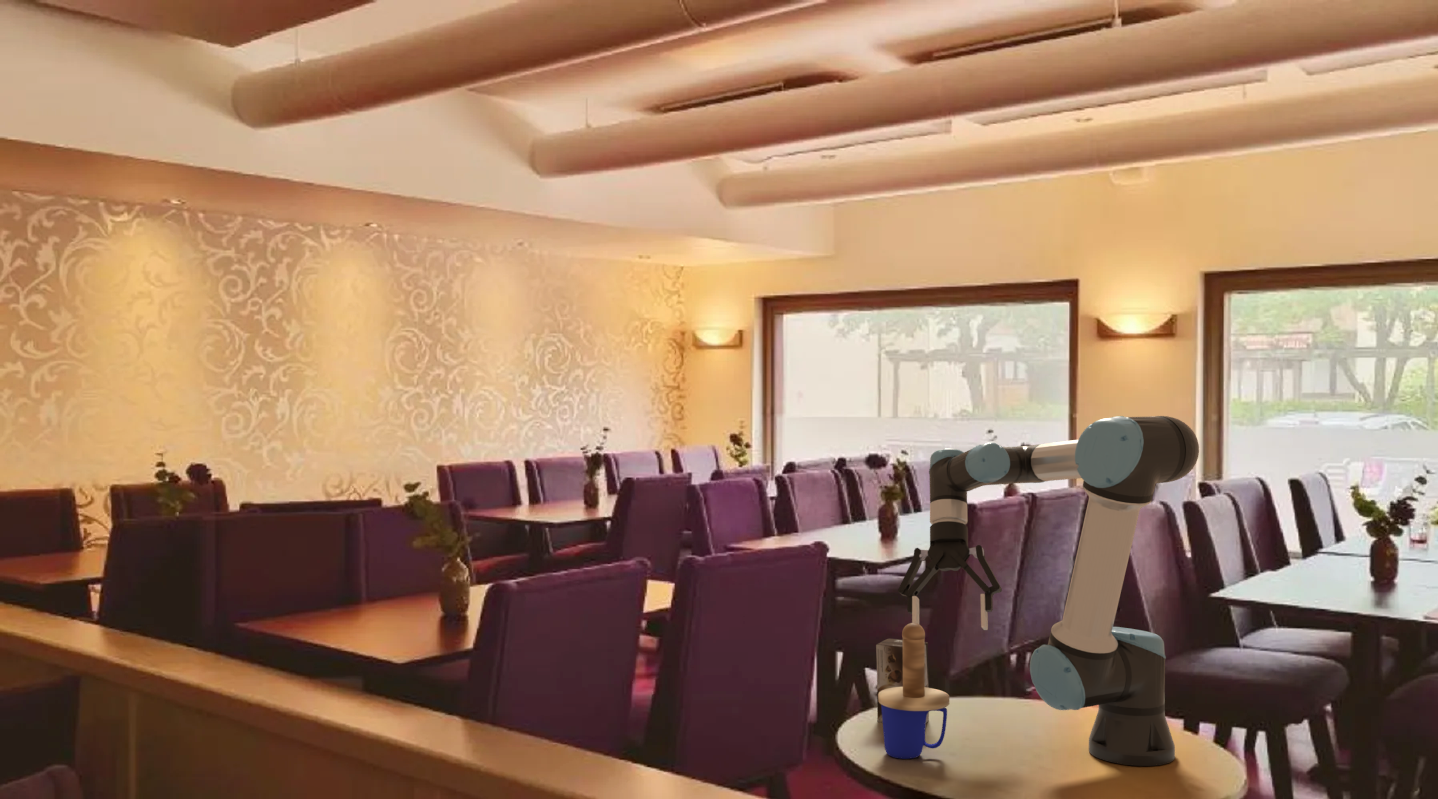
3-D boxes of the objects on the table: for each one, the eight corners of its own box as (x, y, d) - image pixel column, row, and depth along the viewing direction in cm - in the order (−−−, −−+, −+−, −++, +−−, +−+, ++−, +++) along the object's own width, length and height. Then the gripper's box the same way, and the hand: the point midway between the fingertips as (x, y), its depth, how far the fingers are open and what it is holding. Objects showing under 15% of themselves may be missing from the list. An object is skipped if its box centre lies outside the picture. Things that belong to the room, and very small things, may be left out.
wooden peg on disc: (956, 696, 231) (956, 619, 231) (940, 714, 219) (940, 632, 219) (889, 690, 236) (888, 614, 236) (869, 706, 224) (869, 627, 224)
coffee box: (930, 720, 250) (929, 642, 250) (917, 728, 245) (917, 647, 245) (889, 714, 255) (888, 637, 255) (875, 721, 250) (875, 642, 250)
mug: (946, 764, 222) (946, 709, 222) (879, 760, 225) (879, 706, 224) (947, 750, 230) (947, 697, 230) (882, 747, 233) (882, 694, 232)
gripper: (1014, 526, 247) (1017, 631, 239) (893, 533, 257) (892, 634, 249) (1007, 516, 241) (1010, 623, 233) (883, 523, 250) (882, 626, 242)
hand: (949, 629), depth 241 cm, fingers open, 13 cm apart
